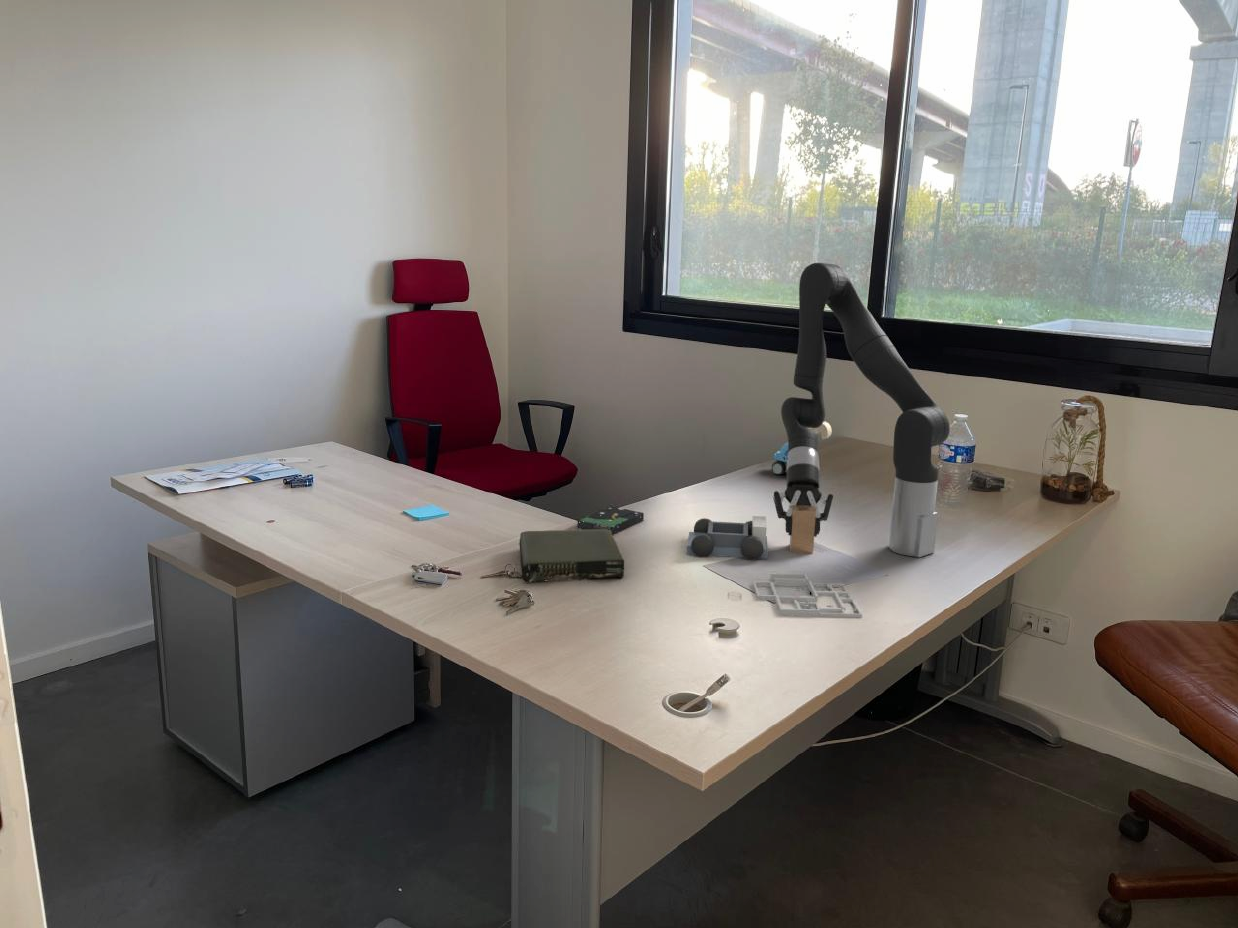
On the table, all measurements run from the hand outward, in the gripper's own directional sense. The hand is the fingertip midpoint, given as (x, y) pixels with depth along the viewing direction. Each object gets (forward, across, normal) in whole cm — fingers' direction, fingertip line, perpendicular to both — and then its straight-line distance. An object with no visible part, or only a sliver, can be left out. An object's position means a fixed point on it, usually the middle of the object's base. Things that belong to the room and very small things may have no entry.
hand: (802, 534), depth 210 cm
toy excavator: (-46, +4, +52) cm, 69 cm away
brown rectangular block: (+2, 0, +4) cm, 5 cm away
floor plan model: (+23, -4, -16) cm, 29 cm away
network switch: (+15, -51, -8) cm, 54 cm away
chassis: (+4, -17, +2) cm, 17 cm away
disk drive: (-5, -46, +12) cm, 48 cm away
